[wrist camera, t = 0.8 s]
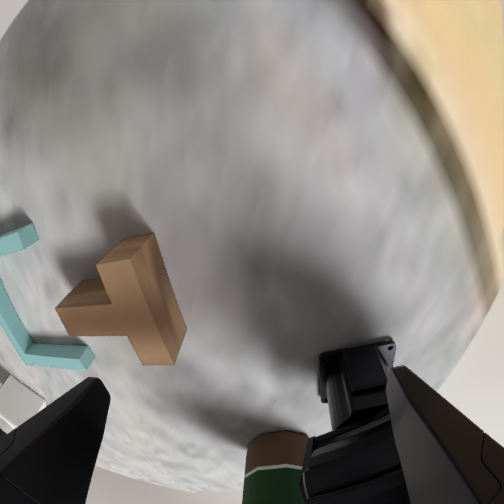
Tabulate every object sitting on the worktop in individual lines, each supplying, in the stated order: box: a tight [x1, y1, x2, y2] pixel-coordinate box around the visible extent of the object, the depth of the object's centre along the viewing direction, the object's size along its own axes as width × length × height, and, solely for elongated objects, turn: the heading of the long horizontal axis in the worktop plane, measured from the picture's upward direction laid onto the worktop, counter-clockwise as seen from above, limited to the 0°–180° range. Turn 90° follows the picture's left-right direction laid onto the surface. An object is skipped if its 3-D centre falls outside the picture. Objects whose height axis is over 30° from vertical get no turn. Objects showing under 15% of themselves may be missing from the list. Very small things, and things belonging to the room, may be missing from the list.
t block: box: [55, 233, 187, 365], centre depth 19 cm, size 8×8×4 cm
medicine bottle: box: [0, 375, 46, 438], centre depth 26 cm, size 7×7×12 cm
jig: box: [0, 223, 95, 371], centre depth 22 cm, size 14×10×2 cm
